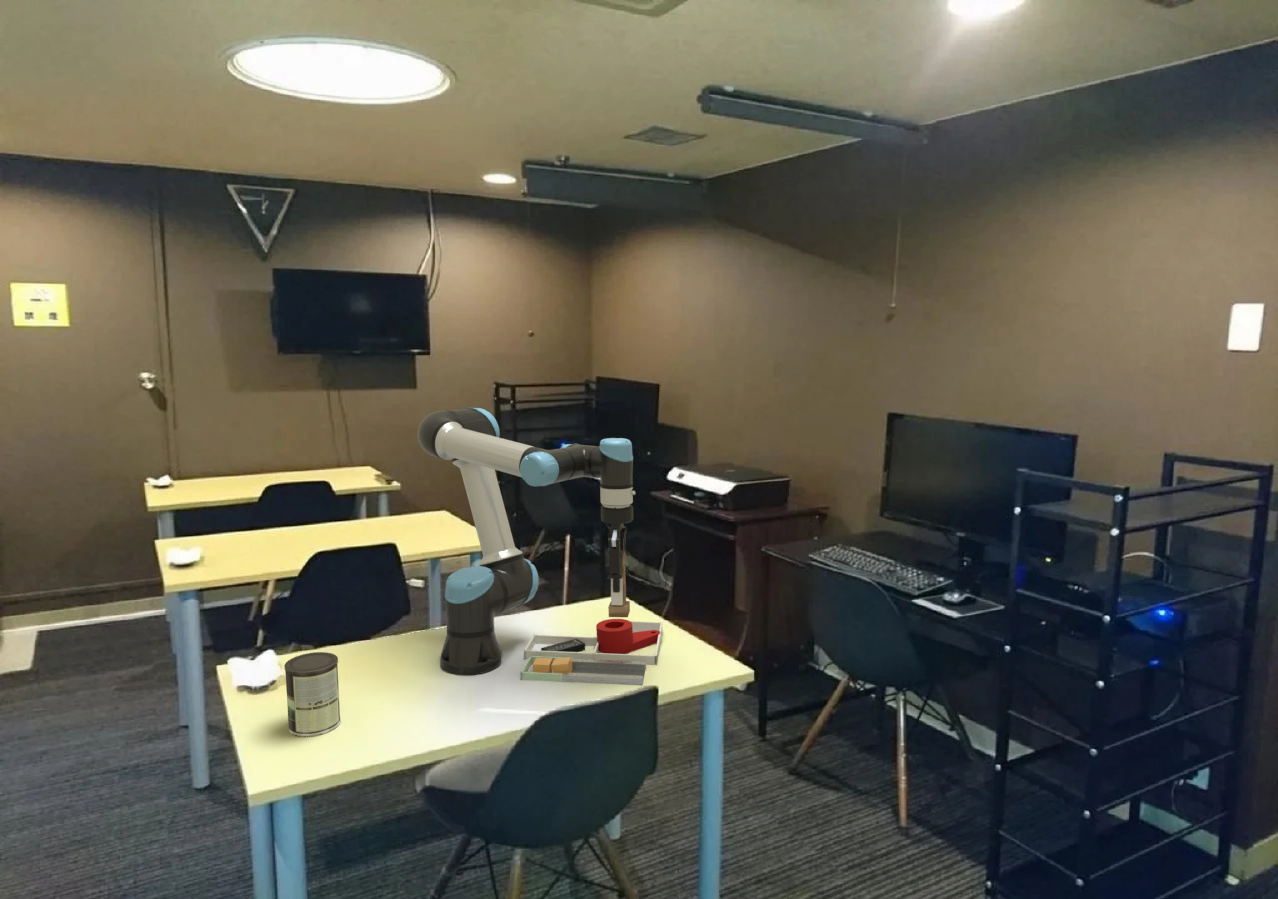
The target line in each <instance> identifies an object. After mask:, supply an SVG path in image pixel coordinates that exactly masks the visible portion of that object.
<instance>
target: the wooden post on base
mask: <svg viewBox="0 0 1278 899" xmlns="http://www.w3.org/2000/svg"><path fill="white" fill-rule="evenodd" d="M625 564H626V550H625V551H622V578H623V605H611V601H610V603H609V605H608V618H629V615H630V612H631V606H630V604H631V601H630V600H627V584H626V583H627V582H626V575H627V574H626V572H625V569H626V566H625Z"/></svg>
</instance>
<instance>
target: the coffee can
mask: <svg viewBox="0 0 1278 899" xmlns="http://www.w3.org/2000/svg"><path fill="white" fill-rule="evenodd" d="M338 663H339V658H338V656H337V655H336V654H334V653H331V652H326V651H317V652H307V653H304V654H300V655H296V656H294V657H292V658H290V659H288V660H287V661H286V662H285V663H284V666H283V667H284V671H285V683H286V684H285V686H286V699H287V700H286V702H287V719H288V720H287V721H288V728H287V730H288V732H289V733H290V734H291V735H293V734H294V735H293V736H295V735H297V736H296V737H299V736H306V737H305V738H308V737H307V736H311V737H316V736H315V735H318V736H320V735H319V734H322V735H324V734H327V733H330V732H332V731H333V730H335V729H336V728H338V726H339V725H340V723H341V722H342V721H341V710H340V708H341V707H340V688H339V668H338Z"/></svg>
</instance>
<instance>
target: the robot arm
mask: <svg viewBox="0 0 1278 899" xmlns="http://www.w3.org/2000/svg"><path fill="white" fill-rule="evenodd" d="M500 433H501V432H500V427H499V424H498V421H497V420H496V418H495V417H494V416H493V414H491V412H489V411H487V410H486V409H484V408H480V407H464V408H456V409H448V410H447V409H446V410H436V411H434V412H431V413H429V414H427V415H426V416H425V417H424V418H423V419H422V420H421V421H420V422H419V425H418V428H417V441H418V444H419V446H420V447H421V449H422V450H423V451H424V452H425V453H426V454H428V455H430V456H433V457H435V458H437V459H438V458H439V459H442V460H446V461H451V463H452V465H454V466H456V467H458V468H459V470H460V474H461V476H462V480H463V484H464V485H463V486H464V488H465V491H466V495H467V499H468V503H469V507H470V510H471V515H472V518H473V522H474V526H475V530H476V534H477V538H478V542H479V544H480V549H481V553H482V559H481V560H480V561H479V565H478V566H476V565H475V566H471V567H463V568H461V569H458V570H456V571H454V572H452V573H451V574H450V575H449V576H448V577H447V579H446V581H445V589H444V590H445V591H444V597H445V617H446V623H445V624H446V636H445V640H444V643H443V646H442V648H441V652H440V658H439V659H440V660H439V663H440V664H439V666H440V669H441V670H443V671H444V672H447V673H449V674H452V675H460V676H462V675H463V676H469V675H471V676H472V675H473V676H474V675H478V674H484V673H487V672H489V671H493V670H494V669H496V668H498V667H499V666H500V665H501V664H502V662H503V659H502V658H503V657H502V656H503V655H502V654H503V653H502V650H501V647H500V643H499V641H498V639H497V636H496V632H495V616H497V615H499V614H502V613H504V612H507V611H509V610H511V609H514V608H519V607H522V606H523V605H524V604H526V603H528V602H530V601H531V600H533V598H534V597H535V596H536V593H537V591H538V588H539V582H540V581H539V574H538V571H537V570H538V569H537V568H536V566H535V565H534V564H533V563H532V562H531V561H530V560H529V559H527V558H525V557H524V553H523V551H522V550H520V549H518V548H517V547H516V546H515V542H514V538H513V533H512V531H511V526H510V522H509V519H508V515H507V512H506V507H505V504H504V500H503V497H502V493H501V489H500V485H499V482H498V478H497V472H496V471H499V472H502V473H506V474H510V475H514V476H516V477H520V478H522V480H523V481H525V483H526V484H527V485H529V486H531V487H547V486H549V485H551V484H556V483H560V482H565V481H568V480H574V479H579V478H595V479H600V486H599V487H600V488H599V489H600V490H599V491H600V495H599V496H600V503H601V507H600V520H601V522H603V523H604V524H609V525H610V527H609V530H607V538H608V539H607V542H608V559H609V560H608V562H609V564H608V565H609V568H608V569H609V575H607V579H610V602H611V605H623V578H622V551H625V552H626V543H627V540H626V537H627V536H626V535H627V526H625V525H624V524H629V523H631V522H632V521H634V506H633V505H632V504H633V503H634V499H633V498H634V497H633V496H635V495H636V490H633V489H634V487H633V484H634V482H633V466H634V464H633V463H634V455H633V444H632V441H631V440H630V439H627V438H623V437H619V438H617V437H609V438H608V437H607V438H603V439H601V440H600V442H599V445H597V446H596V445H586V444H585V445H584V444H579V443H572V444H571V443H569V444H563V445H562V446H561V447H560V448H555V449H544V448H541V447H535V446H532V445H529V444H526V443H521V442H517V441H514V440H510V439H506V438H502V437H500V436H501V434H500ZM625 567H626V563H625ZM628 570H629V569H628V568H625V573H628V572H629V571H628Z"/></svg>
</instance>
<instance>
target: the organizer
mask: <svg viewBox="0 0 1278 899" xmlns="http://www.w3.org/2000/svg"><path fill="white" fill-rule="evenodd" d="M630 621H631V622H632V628H633V632H641V631H649V630H658V631H660V634H659V635H658V641H657V643H656V647H655V653H654V655H652V654H630V653H627V654H609V653H601V652H599V643H598V642H597V636H575V635H573V636H571V635H551V634H549V635H548V634H547V635H546V634H533V635H532V637H531V638H530V639H529V642H528V643H527V645H526V647H525V648H524V650H523V660H528V659H529V657H530V656H540V657H564V658H567V657H571V659H592V660H616V661H639V662H646V666H647V665H648V666H649V665H650V666H657V664H658V658H659V653H660V647H661V643H662V638H663V637H662V636H663V622H662V621H661V622H659V621H639V620H638V621H635V620H634V621H633V620H630ZM574 639H578V640H580V641H581V642H583V643H585V647H586V646H587V647H594V649H593V652H586V651H585V652H584V651H580V652H561V651H541V650H536V649H535V650H533V648H534V646H535V645H555V644H558V643H562V642H566V641H570V640H574Z"/></svg>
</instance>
